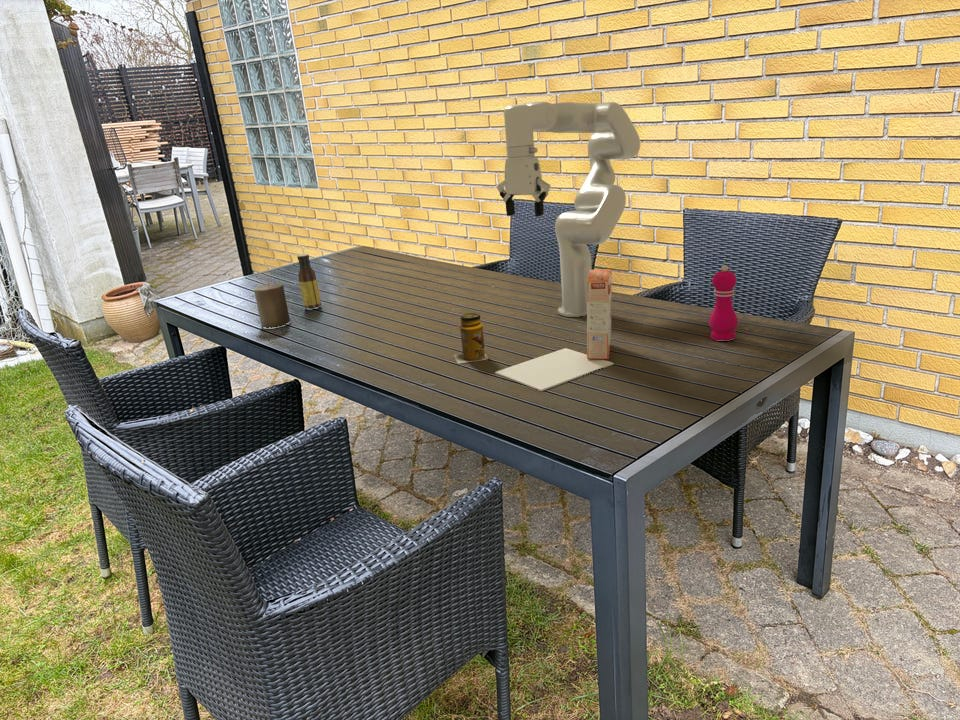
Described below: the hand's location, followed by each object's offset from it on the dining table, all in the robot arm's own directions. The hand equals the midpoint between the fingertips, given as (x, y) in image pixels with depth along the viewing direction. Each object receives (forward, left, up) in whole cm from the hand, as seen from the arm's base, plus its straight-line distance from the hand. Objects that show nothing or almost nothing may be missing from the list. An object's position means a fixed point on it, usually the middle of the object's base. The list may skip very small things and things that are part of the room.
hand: (525, 215), depth 206 cm
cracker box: (+1, +29, -34) cm, 45 cm away
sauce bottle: (+33, -85, -34) cm, 97 cm away
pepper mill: (-28, +46, -34) cm, 64 cm away
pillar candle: (+51, -75, -34) cm, 97 cm away
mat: (+17, +29, -34) cm, 48 cm away
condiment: (+26, +5, -34) cm, 43 cm away
